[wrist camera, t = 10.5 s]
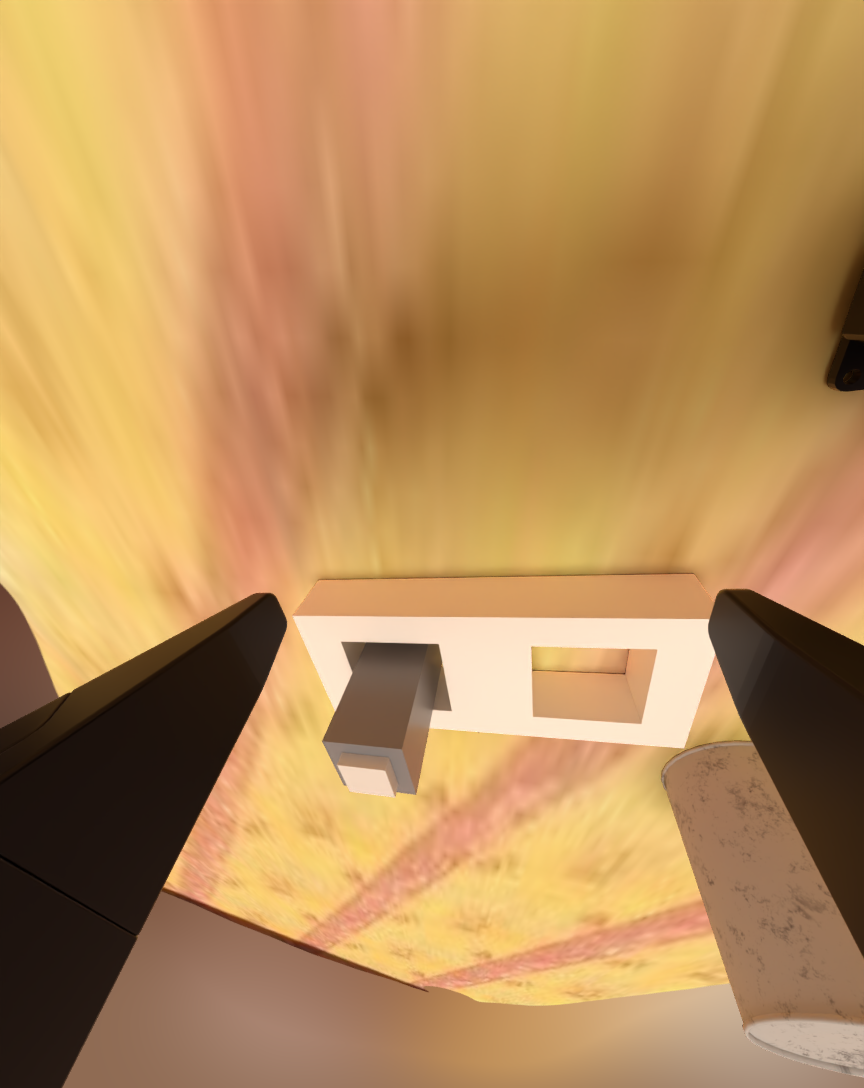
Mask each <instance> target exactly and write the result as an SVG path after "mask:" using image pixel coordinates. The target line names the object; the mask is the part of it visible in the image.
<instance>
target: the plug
mask: <svg viewBox="0 0 864 1088" xmlns="http://www.w3.org/2000/svg"><path fill="white" fill-rule="evenodd" d="M441 666H442V658H441V653H440V647H439V644H420V643H380V642H366V644H365V646H364V648H363V650H362V653H361V655H360V657H359V659H358V662H357V664H356V666H355V668H354V671H353V673H352V675H351V677H350V680H349V682H348V684H347V686H346V689H345V691H344V693H343V695H342V698H341V700H340V702H339V705H338V707H337V709H336V711H335V714H334V716H333V718H332V720H331V723H330V725H329V727H328V729H327V732H326V734H325V736H324V738H323V741H322V742H323V744H324V746H325V748H326V750H327V752H328V754H329V756H330V758H331V760H332V762H333V764H334V766H335V768H336V770H337V772H338V774H339V776H340V778H341V780H342V782H343V784H344V785H345V786H347V787H348V789H349V791H350V792H357V793H365V794H372V795H380V796H387V797H395V796H396V792H400V793H407V794H415V795H416V793H417V788H418V783H419V778H420V773H421V768H422V762H423V757H424V752H425V747H426V742H427V737H428V732H429V727H430V722H431V717H432V711H433V706H434V701H435V696H436V691H437V686H438V681H439V676H440V671H441Z"/></svg>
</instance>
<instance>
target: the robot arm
mask: <svg viewBox="0 0 864 1088" xmlns="http://www.w3.org/2000/svg"><path fill="white" fill-rule="evenodd" d="M842 334H843V336H842V339H841V342H840V344H839V347H838V350H837V353H836V356H835V358H834V361H833V364H832V367H831V370H830V372H829V375H828V379H827V384H828V386H829V387H830V388H831V389H834V390H838V391H856V390H864V270H863V273H862V276H861V278H860V281H859V284H858V287H857V290H856V293H855V295H854V298H853V301H852V304H851V307H850V309H849V312H848V315H847V318H846V321H845V324H844V326H843V329H842ZM850 371H853V373H852V376H851V377H850V379H848V380H847V381H846V382H843V378H844V377H845V375H846V374H847V373H848V372H850ZM286 628H287V620H286V617H285V615H284V613H283V610H282V608H281V606H280V604H279V602H278V600H277V598H276V596H275V595H274V594H272V593H255V594H253V595H251V596H249V597H247V598H245V599H243V600H241V601H239V602H238V603H236V604H234V605H232V606H230V607H228V608H226V609H224V610H223V611H221V612H219V613H217V614H215V615H213V616H211V617H209V618H208V619H206V620H204V621H202V622H200V623H198V624H196V625H194V626H193V627H191V628H189V629H187V630H185V631H183V632H181V633H179V634H178V635H176V636H174V637H172V638H170V639H168V640H166V641H164V642H163V643H161V644H159V645H157V646H155V647H153V648H151V649H149V650H148V651H146V652H144V653H142V654H140V655H138V656H136V657H134V658H133V659H131V660H129V661H127V662H125V663H123V664H121V665H119V666H118V667H116V668H114V669H112V670H110V671H108V672H106V673H104V674H103V675H101V676H99V677H97V678H95V679H93V680H91V681H89V682H88V683H86V684H84V685H82V686H80V687H78V688H76V689H74V690H73V691H72V693H67V694H65V695H63V696H61V697H59V698H57V699H56V700H54V701H52V702H50V703H48V704H46V705H44V706H42V707H41V708H39V709H37V710H35V711H33V712H31V713H29V714H27V715H25V716H23V717H21V718H19V719H17V720H16V721H14V722H12V723H10V724H8V725H6V726H4V727H2V728H0V1088H62V1087H63V1085H64V1083H65V1081H66V1079H67V1077H68V1075H69V1073H70V1072H71V1070H72V1067H73V1066H74V1063H75V1062H76V1060H77V1057H78V1056H79V1054H80V1052H81V1050H82V1048H83V1046H84V1044H85V1042H86V1040H87V1038H88V1036H89V1034H90V1032H91V1030H92V1028H93V1026H94V1024H95V1022H96V1020H97V1018H98V1016H99V1014H100V1012H101V1010H102V1008H103V1006H104V1004H105V1002H106V1000H107V998H108V996H109V994H110V992H111V990H112V988H113V986H114V984H115V982H116V980H117V978H118V976H119V974H120V972H121V970H122V968H123V966H124V964H125V962H126V960H127V958H128V956H129V954H130V952H131V950H132V948H133V946H134V944H135V942H136V940H137V938H138V937H137V935H139V933H140V932H141V930H142V928H143V925H144V924H145V922H146V920H147V918H148V916H149V914H150V912H151V910H152V908H153V906H154V904H155V902H156V900H157V898H158V896H159V894H160V892H161V890H162V888H163V886H164V884H165V882H166V880H167V878H168V876H169V874H170V872H171V870H172V868H173V866H174V864H175V862H176V860H177V858H178V856H179V854H180V853H181V851H182V849H183V847H184V845H185V843H186V841H187V839H188V837H189V835H190V833H191V831H192V829H193V827H194V825H195V823H196V821H197V819H198V817H199V815H200V813H201V811H202V809H203V807H204V805H205V803H206V801H207V799H208V797H209V795H210V793H211V791H212V789H213V787H214V785H215V783H216V781H217V779H218V777H219V775H220V773H221V771H222V769H223V767H224V765H225V763H226V761H227V759H228V757H229V755H230V753H231V751H232V749H233V747H234V745H235V743H236V742H237V740H238V738H239V736H240V734H241V732H242V730H243V728H244V726H245V724H246V722H247V720H248V718H249V716H250V714H251V712H252V710H253V708H254V706H255V704H256V702H257V700H258V698H259V696H260V694H261V692H262V689H263V687H264V685H265V682H266V680H267V677H268V675H269V672H270V670H271V667H272V665H273V662H274V660H275V657H276V654H277V652H278V649H279V647H280V644H281V642H282V639H283V637H284V634H285V632H286ZM708 634H709V638H710V640H711V643H712V646H713V648H714V651H715V654H716V656H717V659H718V662H719V664H720V667H721V669H722V672H723V675H724V677H725V680H726V683H727V685H728V688H729V691H730V693H731V696H732V699H733V701H734V704H735V706H736V709H737V711H738V714H739V716H740V718H741V720H742V722H743V724H744V727H745V729H746V731H747V733H748V735H749V737H750V739H751V741H752V742H753V744H754V746H755V748H756V750H757V752H758V754H759V756H760V758H761V760H762V762H763V764H764V766H765V768H766V770H767V772H768V774H769V776H770V777H771V779H772V781H773V783H774V785H775V787H776V789H777V791H778V793H779V795H780V797H781V799H782V801H783V803H784V805H785V807H786V809H787V811H788V813H789V814H790V816H791V818H792V820H793V822H794V824H795V826H796V828H797V830H798V832H799V834H800V836H801V838H802V840H803V842H804V844H805V846H806V848H807V849H808V851H809V853H810V855H811V857H812V859H813V861H814V863H815V865H816V867H817V869H818V871H819V873H820V875H821V877H822V879H823V881H824V883H825V885H826V886H827V888H828V890H829V892H830V894H831V896H832V898H833V900H834V902H835V904H836V906H837V908H838V910H839V912H840V914H841V916H842V918H843V920H844V921H845V923H846V925H847V927H848V929H849V931H850V933H851V935H852V937H853V939H854V941H855V943H856V945H857V947H858V949H859V951H860V953H861V955H862V957H863V958H864V646H863V645H861V644H859V643H857V642H855V641H853V640H851V639H849V638H847V637H845V636H843V635H841V634H839V633H837V632H835V631H833V630H831V629H829V628H827V627H825V626H823V625H821V624H819V623H817V622H815V621H813V620H811V619H809V618H807V617H805V616H803V615H801V614H799V613H797V612H795V611H793V610H791V609H789V608H787V607H785V606H783V605H781V604H779V603H776V602H774V601H772V600H770V599H768V598H766V597H764V596H762V595H760V594H758V593H756V592H754V591H752V590H749V589H723V590H721V591H719V593H718V594H717V596H716V599H715V602H714V606H713V609H712V612H711V616H710V619H709V623H708Z"/></svg>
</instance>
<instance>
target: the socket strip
mask: <svg viewBox="0 0 864 1088" xmlns="http://www.w3.org/2000/svg"><path fill="white" fill-rule="evenodd" d="M713 606H714V601H713V600H712V598H711V597H710V595H709V594H708V593H707V591H706V590H705V588H704V587H703V586H702V584H701V583H700V582H699V580H698V579H697V577H696V576H695V575H694V574H644V575H585V576H527V577H468V578H409V579H350V580H318V581H317V583H316V584H315V585H314V587H313V588H312V590H311V591H310V592H309V594H308V595H307V596H306V598H305V599H304V601H303V602H302V603H301V605H300V606H299V607H298V609H297V610H296V611H295V613H294V614H293V618H294V621H295V623H296V625H297V627H298V630H299V632H300V634H301V636H302V639H303V641H304V643H305V645H306V647H307V650H308V652H309V654H310V656H311V659H312V661H313V663H314V665H315V668H316V670H317V672H318V674H319V677H320V679H321V681H322V683H323V685H324V688H325V690H326V692H327V694H328V697H329V699H330V701H331V703H332V706H333V708H334V710H335V711H336V709H337V707H338V705H339V702H340V700H341V698H342V695H343V693H344V691H345V689H346V686H347V684H348V682H349V680H350V677H351V675H352V673H353V671H354V668H355V666H356V664H357V662H358V659H359V657H360V655H361V653H362V650H363V648H364V646H365V644H366V642H380V643H420V644H439V647H440V653H441V658H442V663H443V667H441V671H440V676H439V681H438V686H437V691H436V696H435V701H434V706H433V711H432V717H431V722H430V727H429V728H435V729H448V730H460V731H473V732H485V733H498V734H511V735H523V736H536V737H548V738H561V739H573V740H586V741H598V742H611V743H624V744H636V745H649V746H661V747H674V748H684V747H685V744H686V741H687V738H688V735H689V732H690V729H691V726H692V723H693V720H694V717H695V714H696V711H697V708H698V705H699V702H700V699H701V696H702V693H703V690H704V687H705V684H706V680H707V677H708V674H709V671H710V668H711V665H712V662H713V659H714V656H715V651H714V648H713V646H712V643H711V640H710V638H709V634H708V623H709V619H710V616H711V612H712V609H713ZM531 646H538V647H578V648H617V649H629V654H628V660H627V666H626V672H625V674H604V673H579V672H554V671H532V659H531Z"/></svg>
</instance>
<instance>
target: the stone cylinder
mask: <svg viewBox="0 0 864 1088" xmlns="http://www.w3.org/2000/svg"><path fill="white" fill-rule="evenodd" d="M661 780H662V783H663V786H664V789H665V790H666V791H667V794H668V797H669V800H670V803H671V806H672V809H673V812H674V815H675V818H676V821H677V824H678V827H679V830H680V833H681V836H682V839H683V842H684V846H685V849H686V852H687V855H688V858H689V861H690V864H691V867H692V870H693V873H694V876H695V879H696V882H697V885H698V888H699V891H700V894H701V897H702V900H703V903H704V906H705V909H706V912H707V915H708V918H709V921H710V924H711V927H712V930H713V933H714V936H715V939H716V942H717V945H718V948H719V951H720V954H721V957H722V960H723V963H724V966H725V969H726V972H727V975H728V978H729V981H730V984H731V987H732V990H733V993H734V996H735V999H736V1002H737V1005H738V1008H739V1011H740V1014H741V1017H742V1020H743V1023H744V1024H743V1025H742V1026H743V1029H744V1032H745V1035H746V1037H747V1038H748V1039H749V1040H750V1041H751V1042H753V1043H754V1044H756V1045H757V1046H759V1047H761V1048H763V1049H765V1050H767V1051H769V1052H772V1053H774V1054H777V1055H779V1056H782V1057H785V1058H788V1059H791V1060H794V1061H797V1062H800V1063H804V1064H807V1065H811V1066H815V1067H819V1068H822V1069H826V1070H831V1071H836V1072H840V1073H844V1074H849V1075H855V1076H860V1077H864V958H863V957H862V955H861V953H860V951H859V949H858V947H857V945H856V943H855V941H854V939H853V937H852V935H851V933H850V931H849V929H848V927H847V925H846V923H845V921H844V920H843V918H842V916H841V914H840V912H839V910H838V908H837V906H836V904H835V902H834V900H833V898H832V896H831V894H830V892H829V890H828V888H827V886H826V885H825V883H824V881H823V879H822V877H821V875H820V873H819V871H818V869H817V867H816V865H815V863H814V861H813V859H812V857H811V855H810V853H809V851H808V849H807V848H806V846H805V844H804V842H803V840H802V838H801V836H800V834H799V832H798V830H797V828H796V826H795V824H794V822H793V820H792V818H791V816H790V814H789V813H788V811H787V809H786V807H785V805H784V803H783V801H782V799H781V797H780V795H779V793H778V791H777V789H776V787H775V785H774V783H773V781H772V779H771V777H770V776H769V774H768V772H767V770H766V768H765V766H764V764H763V762H762V760H761V758H760V756H759V754H758V752H757V750H756V748H755V746H754V744H753V742H752V741H725V742H715V743H710V744H705V745H700V746H697V747H694V748H691V749H688V750H686V751H684V752H682V753H680V754H678V755H676V756H674V757H673V758H672V759H671V760H670V761H669V762H668V763H666V765H665V767H664V768H663V770H662V776H661Z"/></svg>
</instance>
